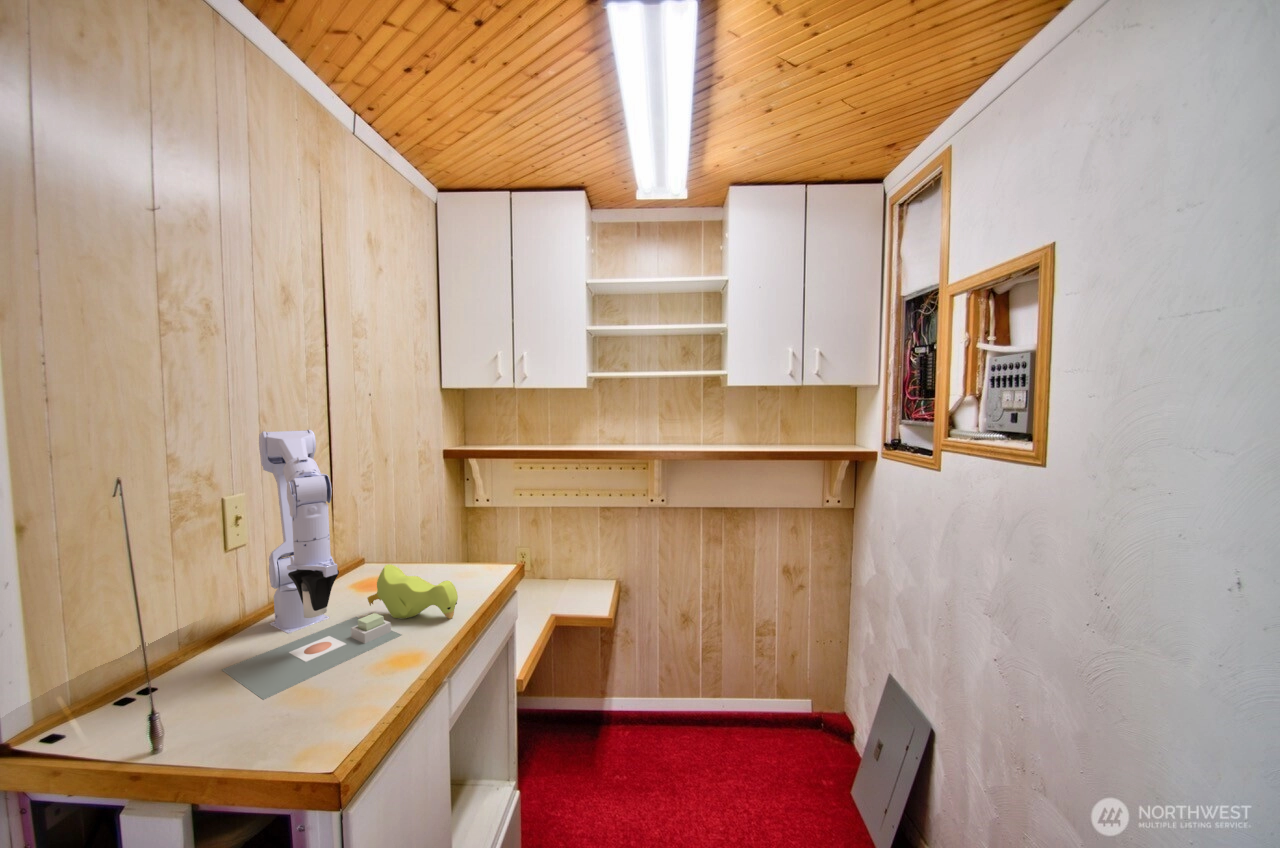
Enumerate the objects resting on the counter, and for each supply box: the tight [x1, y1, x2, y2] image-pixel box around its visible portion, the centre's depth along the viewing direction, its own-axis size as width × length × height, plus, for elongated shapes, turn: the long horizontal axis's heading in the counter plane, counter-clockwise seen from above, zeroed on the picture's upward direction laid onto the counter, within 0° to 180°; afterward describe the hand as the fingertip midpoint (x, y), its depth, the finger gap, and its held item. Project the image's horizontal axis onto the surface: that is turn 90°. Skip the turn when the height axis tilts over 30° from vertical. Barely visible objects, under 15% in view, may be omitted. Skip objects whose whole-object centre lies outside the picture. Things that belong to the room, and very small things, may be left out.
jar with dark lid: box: [301, 582, 328, 618], centre depth 85 cm, size 4×4×7 cm
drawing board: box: [221, 616, 403, 701], centre depth 85 cm, size 18×23×2 cm
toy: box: [367, 563, 459, 620], centre depth 99 cm, size 6×17×20 cm
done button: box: [358, 612, 385, 631], centre depth 90 cm, size 3×3×2 cm
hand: (315, 606), depth 85 cm, fingers closed on jar with dark lid, 4 cm apart
